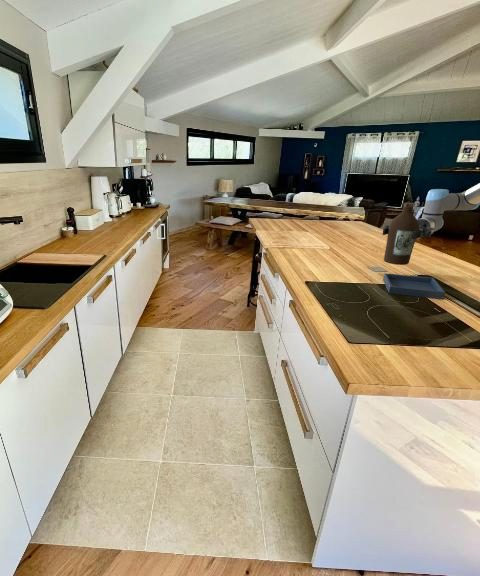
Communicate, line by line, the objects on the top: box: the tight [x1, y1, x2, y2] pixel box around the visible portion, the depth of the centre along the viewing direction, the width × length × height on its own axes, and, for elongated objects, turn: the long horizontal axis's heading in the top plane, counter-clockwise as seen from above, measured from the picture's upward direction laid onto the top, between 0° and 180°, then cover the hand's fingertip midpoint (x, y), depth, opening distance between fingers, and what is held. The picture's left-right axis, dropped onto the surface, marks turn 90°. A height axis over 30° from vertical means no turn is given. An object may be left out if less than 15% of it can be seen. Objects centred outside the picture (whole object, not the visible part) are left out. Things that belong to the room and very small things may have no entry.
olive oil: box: [383, 202, 419, 266], centre depth 132 cm, size 11×11×25 cm
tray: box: [382, 272, 446, 300], centre depth 125 cm, size 18×17×3 cm
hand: (397, 233), depth 129 cm, fingers closed on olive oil, 11 cm apart
